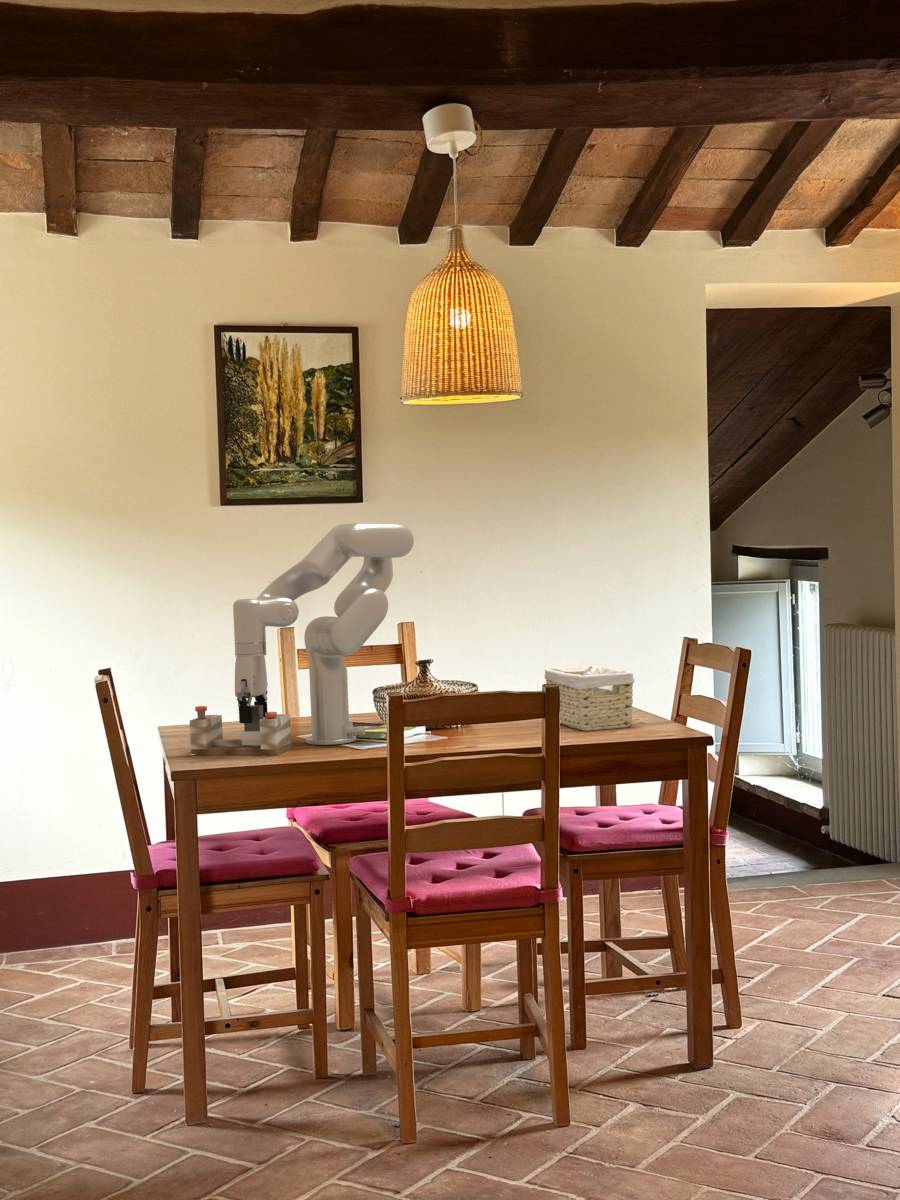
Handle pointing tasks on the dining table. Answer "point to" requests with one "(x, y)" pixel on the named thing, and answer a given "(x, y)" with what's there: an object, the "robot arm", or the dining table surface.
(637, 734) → the dining table surface
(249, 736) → the carriage
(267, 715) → the red knob cap
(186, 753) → the dining table surface
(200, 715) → the red rounded knob
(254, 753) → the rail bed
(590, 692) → the storage basket
